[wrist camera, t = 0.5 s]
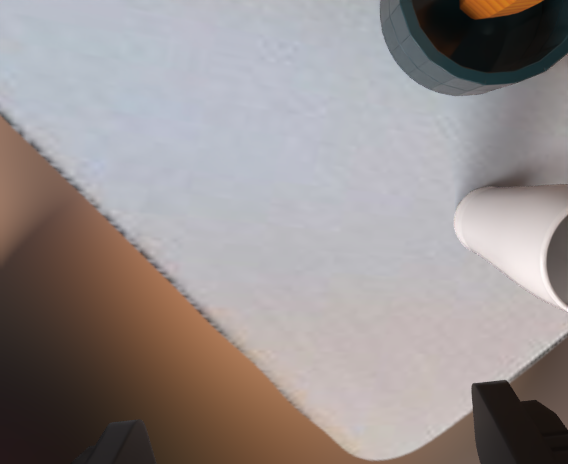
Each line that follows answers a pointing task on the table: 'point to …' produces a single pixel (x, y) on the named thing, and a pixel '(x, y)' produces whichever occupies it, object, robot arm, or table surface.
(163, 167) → the table surface
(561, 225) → the drinking glass
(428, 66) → the pot
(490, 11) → the carrot
